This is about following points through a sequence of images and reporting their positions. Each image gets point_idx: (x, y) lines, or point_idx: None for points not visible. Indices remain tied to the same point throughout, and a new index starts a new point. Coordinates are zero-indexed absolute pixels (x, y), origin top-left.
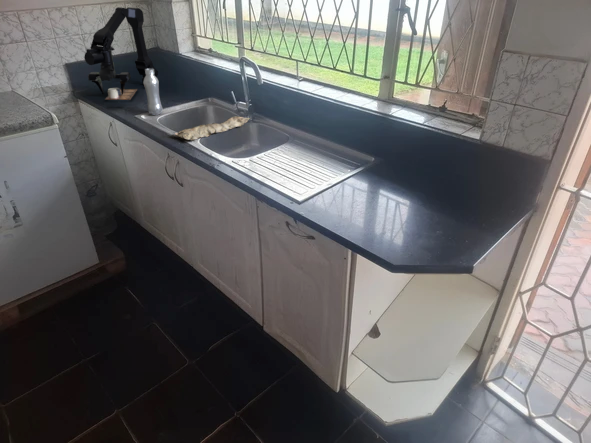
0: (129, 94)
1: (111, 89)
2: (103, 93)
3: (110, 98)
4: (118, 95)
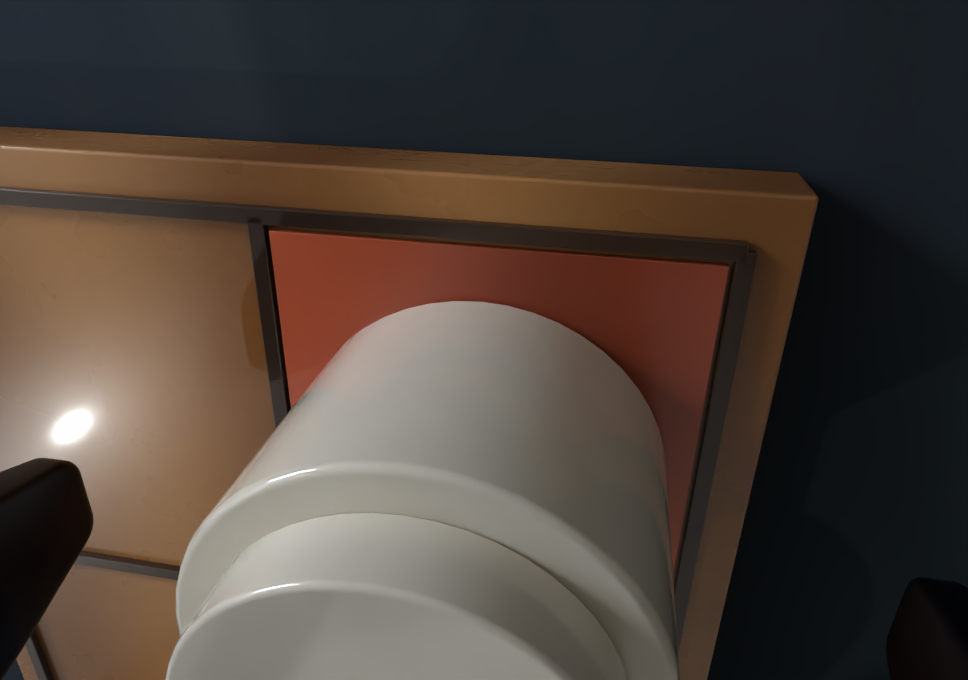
0: (110, 656)
1: None
2: (909, 621)
3: (570, 307)
4: None
